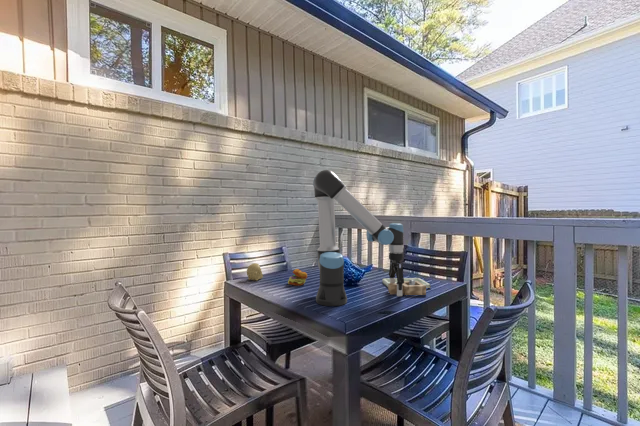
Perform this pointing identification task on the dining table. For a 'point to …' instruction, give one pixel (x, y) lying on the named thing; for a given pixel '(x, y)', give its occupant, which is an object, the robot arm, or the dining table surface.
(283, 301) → the dining table surface
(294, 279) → the cheeseburger
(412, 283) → the post
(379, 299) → the dining table surface
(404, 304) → the dining table surface
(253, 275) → the pale yellow lumpy ball
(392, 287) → the collar
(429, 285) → the tray
